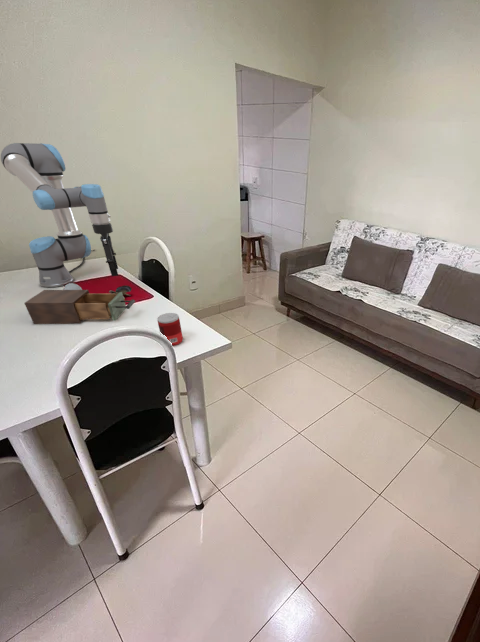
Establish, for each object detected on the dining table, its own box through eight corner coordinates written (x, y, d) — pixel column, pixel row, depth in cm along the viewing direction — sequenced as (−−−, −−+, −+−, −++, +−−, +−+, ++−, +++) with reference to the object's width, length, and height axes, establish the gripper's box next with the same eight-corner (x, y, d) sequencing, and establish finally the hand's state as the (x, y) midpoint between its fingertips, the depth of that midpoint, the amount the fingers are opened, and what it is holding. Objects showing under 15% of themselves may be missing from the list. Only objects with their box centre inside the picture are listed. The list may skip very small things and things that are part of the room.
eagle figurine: (121, 301, 158) (135, 291, 164) (110, 289, 155) (125, 280, 161) (116, 305, 163) (129, 296, 169) (105, 293, 160) (119, 285, 166)
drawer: (139, 307, 153) (135, 292, 149) (130, 320, 142) (125, 304, 138) (87, 308, 151) (81, 292, 147) (73, 321, 140) (66, 304, 136)
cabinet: (94, 309, 152) (88, 289, 147) (80, 323, 140) (72, 302, 135) (52, 309, 150) (44, 289, 145) (33, 324, 139) (24, 303, 133)
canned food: (187, 338, 133) (182, 314, 127) (174, 348, 126) (169, 323, 120) (171, 335, 135) (166, 311, 129) (158, 344, 128) (152, 319, 122)
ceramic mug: (63, 304, 155) (57, 289, 151) (67, 298, 162) (62, 283, 158) (88, 303, 158) (83, 288, 154) (91, 296, 165) (87, 282, 161)
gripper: (110, 228, 137) (123, 278, 149) (111, 218, 154) (123, 264, 166) (90, 229, 135) (105, 280, 147) (93, 218, 151) (107, 266, 163)
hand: (115, 272), depth 156 cm, fingers open, 9 cm apart
